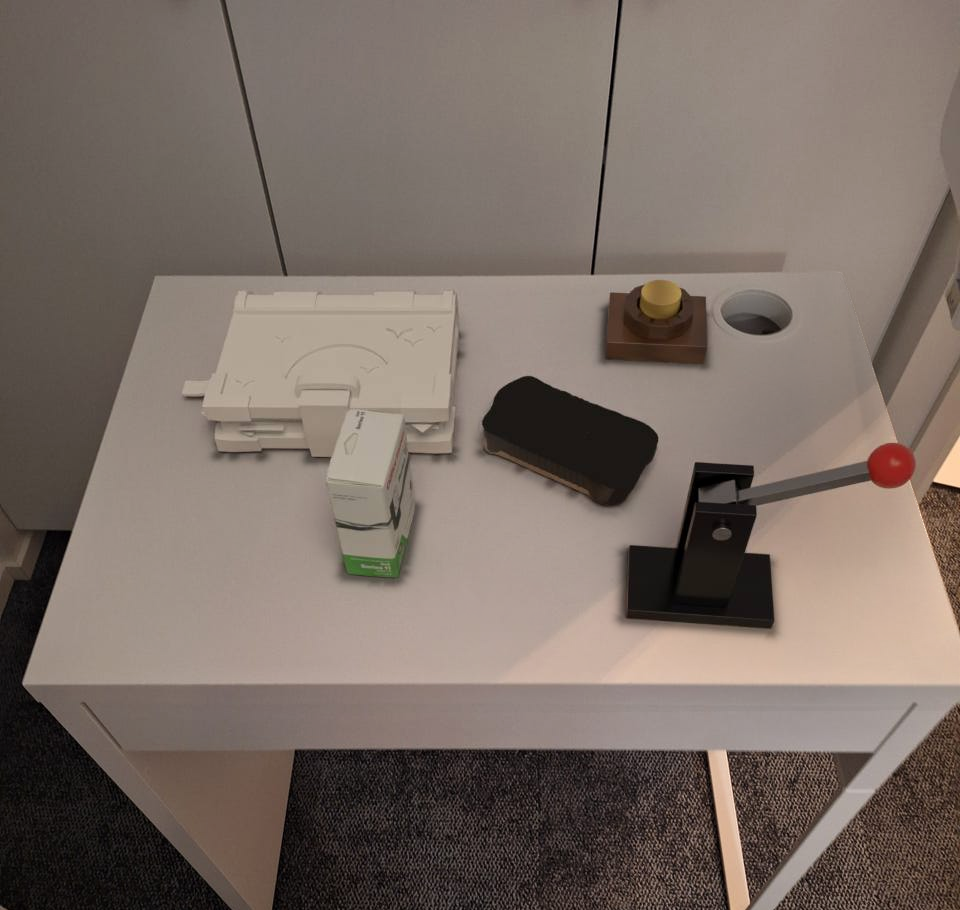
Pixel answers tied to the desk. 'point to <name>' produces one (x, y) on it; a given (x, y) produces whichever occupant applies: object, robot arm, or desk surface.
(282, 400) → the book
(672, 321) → the button block
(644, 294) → the button
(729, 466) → the bracket
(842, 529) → the desk surface
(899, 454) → the lever
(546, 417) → the black sponge
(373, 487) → the ink box
